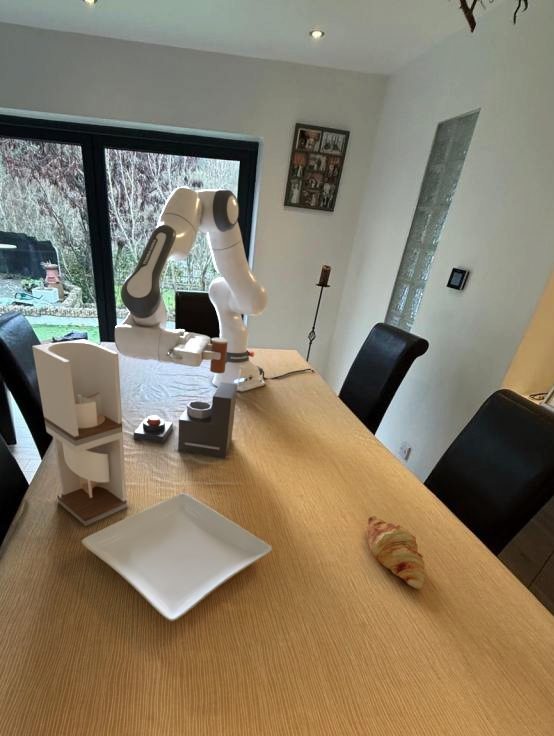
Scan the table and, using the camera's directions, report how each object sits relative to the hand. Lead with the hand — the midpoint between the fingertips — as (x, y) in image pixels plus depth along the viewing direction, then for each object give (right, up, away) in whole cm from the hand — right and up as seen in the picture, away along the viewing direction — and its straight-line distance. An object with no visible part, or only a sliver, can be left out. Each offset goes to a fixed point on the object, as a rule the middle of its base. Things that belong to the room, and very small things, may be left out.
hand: (222, 353), depth 114 cm
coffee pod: (-1, -4, +3) cm, 5 cm away
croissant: (+36, -53, -25) cm, 69 cm away
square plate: (-9, -52, -31) cm, 61 cm away
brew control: (-21, -20, +14) cm, 33 cm away
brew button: (-21, -17, +12) cm, 30 cm away
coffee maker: (-5, -24, +11) cm, 27 cm away
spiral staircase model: (-30, -42, -19) cm, 55 cm away
